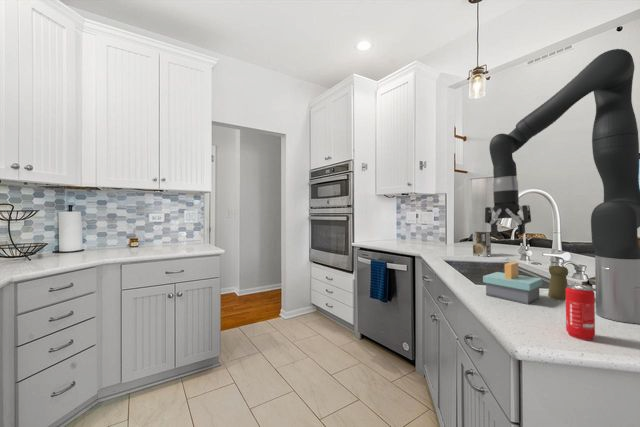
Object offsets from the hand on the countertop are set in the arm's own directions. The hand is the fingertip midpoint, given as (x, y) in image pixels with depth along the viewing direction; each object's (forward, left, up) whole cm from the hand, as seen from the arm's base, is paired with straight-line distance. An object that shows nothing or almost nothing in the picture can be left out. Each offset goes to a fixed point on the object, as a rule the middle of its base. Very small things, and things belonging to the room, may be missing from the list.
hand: (507, 235), depth 101 cm
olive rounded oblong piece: (-11, -12, -22) cm, 28 cm away
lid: (-1, 0, -17) cm, 17 cm away
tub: (-1, 0, -22) cm, 22 cm away
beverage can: (-24, +22, -22) cm, 40 cm away
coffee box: (+49, -85, -22) cm, 101 cm away
